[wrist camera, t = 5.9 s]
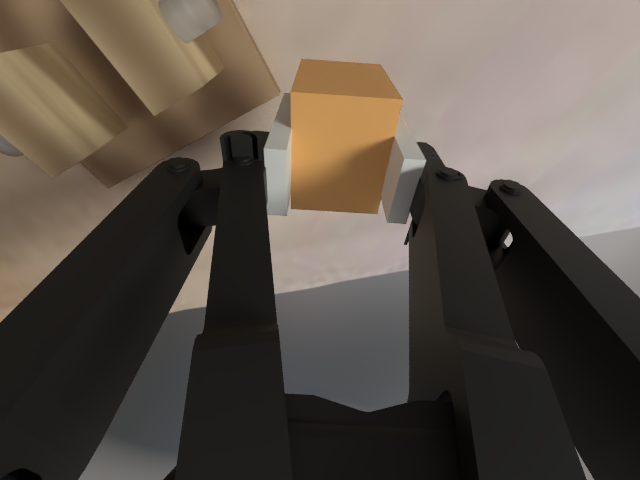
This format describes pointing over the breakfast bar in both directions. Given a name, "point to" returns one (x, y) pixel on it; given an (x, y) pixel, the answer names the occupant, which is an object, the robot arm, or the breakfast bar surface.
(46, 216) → the breakfast bar surface
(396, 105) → the orange rectangular block
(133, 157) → the shaft bench
